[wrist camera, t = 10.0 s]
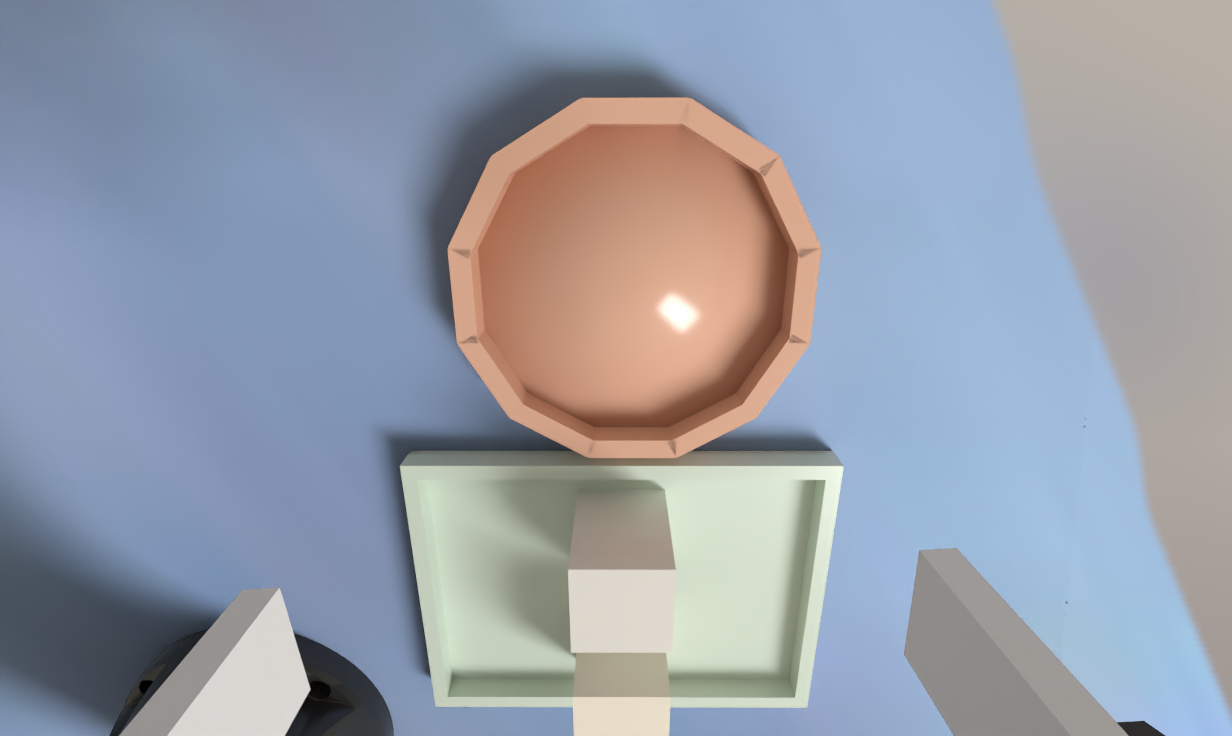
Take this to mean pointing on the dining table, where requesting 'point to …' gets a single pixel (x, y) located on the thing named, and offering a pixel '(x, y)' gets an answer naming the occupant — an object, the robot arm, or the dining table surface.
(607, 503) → the pale grey block
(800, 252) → the bowl
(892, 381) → the dining table surface
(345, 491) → the dining table surface
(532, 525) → the parts tray
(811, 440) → the dining table surface
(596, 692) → the cream rectangular block
